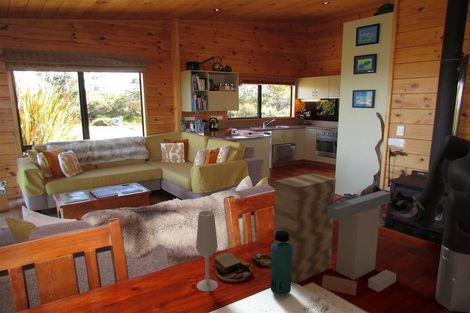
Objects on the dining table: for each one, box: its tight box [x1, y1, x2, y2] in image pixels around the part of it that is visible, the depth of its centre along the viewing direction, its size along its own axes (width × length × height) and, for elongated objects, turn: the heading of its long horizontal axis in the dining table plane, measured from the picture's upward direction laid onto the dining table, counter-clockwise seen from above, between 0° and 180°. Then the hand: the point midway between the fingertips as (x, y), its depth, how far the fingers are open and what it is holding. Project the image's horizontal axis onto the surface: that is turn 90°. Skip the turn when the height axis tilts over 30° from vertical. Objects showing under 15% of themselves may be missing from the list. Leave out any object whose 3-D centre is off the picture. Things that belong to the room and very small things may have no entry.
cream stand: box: [335, 207, 381, 281], centre depth 115 cm, size 12×7×22 cm, turn 126°
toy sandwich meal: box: [211, 252, 253, 283], centre depth 115 cm, size 12×14×5 cm
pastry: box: [250, 251, 271, 269], centre depth 121 cm, size 7×12×4 cm, turn 74°
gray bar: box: [327, 191, 391, 221], centre depth 113 cm, size 30×4×4 cm, turn 126°
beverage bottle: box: [269, 230, 292, 296], centre depth 101 cm, size 6×7×20 cm
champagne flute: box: [195, 210, 219, 292], centre depth 105 cm, size 7×7×24 cm
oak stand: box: [272, 172, 337, 284], centre depth 114 cm, size 18×10×32 cm, turn 126°
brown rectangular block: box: [321, 274, 358, 296], centre depth 105 cm, size 10×4×3 cm, turn 66°
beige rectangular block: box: [367, 269, 397, 293], centre depth 108 cm, size 10×4×3 cm, turn 126°
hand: (385, 190), depth 121 cm, fingers open, 8 cm apart
